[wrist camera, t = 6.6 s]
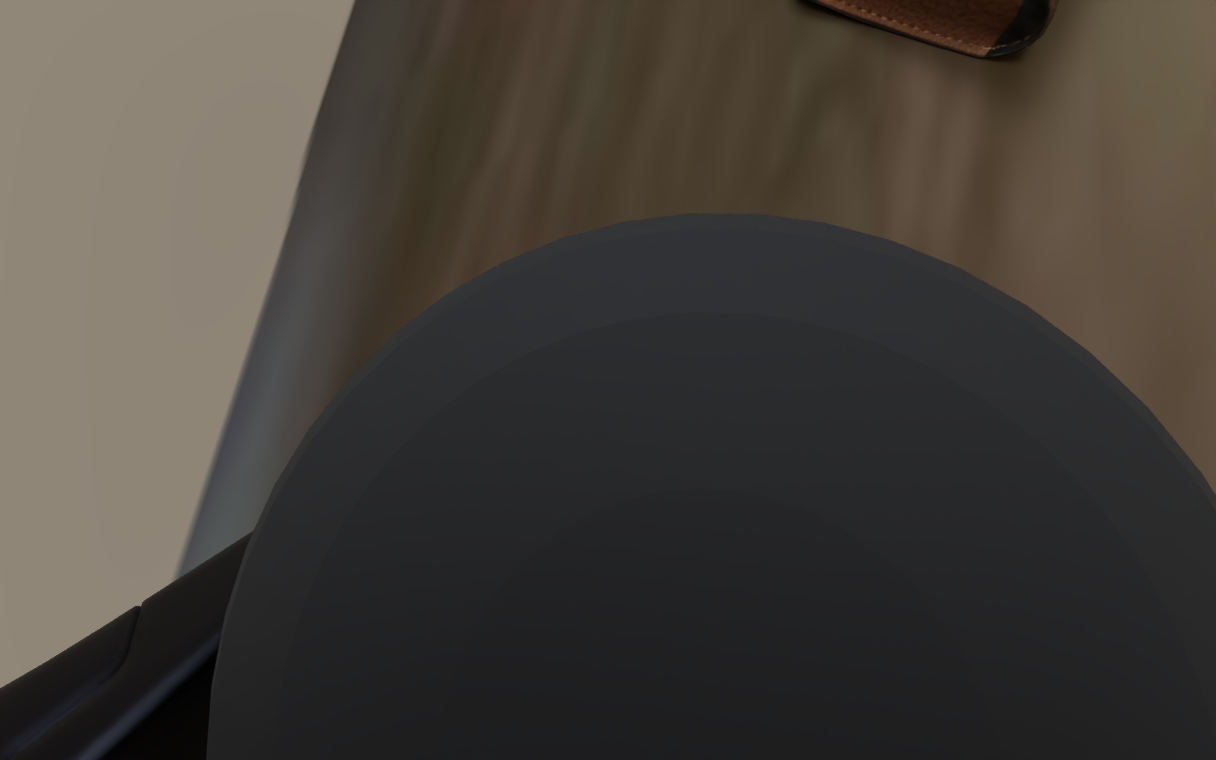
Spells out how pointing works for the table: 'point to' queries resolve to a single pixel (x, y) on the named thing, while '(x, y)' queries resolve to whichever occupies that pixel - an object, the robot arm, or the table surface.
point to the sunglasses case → (956, 21)
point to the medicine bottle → (726, 524)
